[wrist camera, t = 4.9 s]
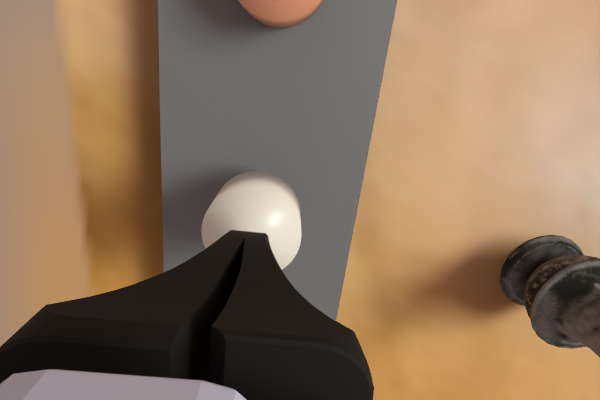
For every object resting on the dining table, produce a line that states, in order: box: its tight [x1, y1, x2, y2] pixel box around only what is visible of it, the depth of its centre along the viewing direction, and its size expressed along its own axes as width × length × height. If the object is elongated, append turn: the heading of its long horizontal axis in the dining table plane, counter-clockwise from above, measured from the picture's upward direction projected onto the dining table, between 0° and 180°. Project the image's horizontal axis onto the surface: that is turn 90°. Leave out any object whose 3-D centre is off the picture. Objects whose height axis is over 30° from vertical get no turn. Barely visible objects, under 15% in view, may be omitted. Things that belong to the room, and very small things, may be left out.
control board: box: [158, 0, 397, 320], centre depth 17 cm, size 24×10×2 cm, turn 173°
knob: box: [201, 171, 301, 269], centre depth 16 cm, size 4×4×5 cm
